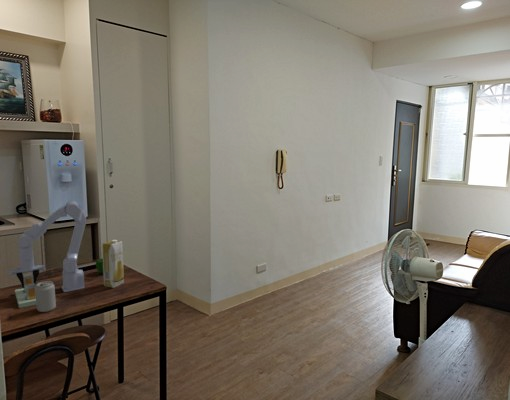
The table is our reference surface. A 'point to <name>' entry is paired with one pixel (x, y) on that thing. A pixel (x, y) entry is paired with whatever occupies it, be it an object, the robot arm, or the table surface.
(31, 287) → the glass of amber drink
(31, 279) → the small drink carton
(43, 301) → the can
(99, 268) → the bell pepper
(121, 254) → the juice carton
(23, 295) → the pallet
